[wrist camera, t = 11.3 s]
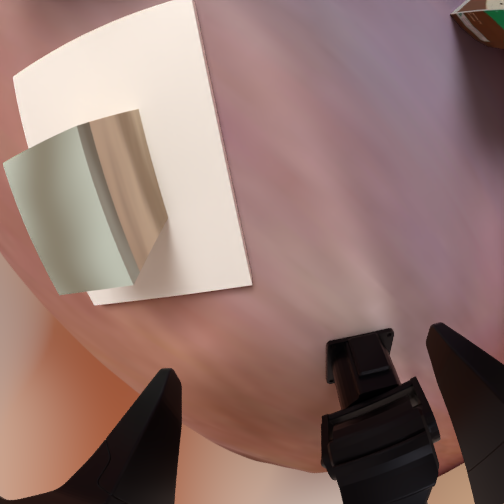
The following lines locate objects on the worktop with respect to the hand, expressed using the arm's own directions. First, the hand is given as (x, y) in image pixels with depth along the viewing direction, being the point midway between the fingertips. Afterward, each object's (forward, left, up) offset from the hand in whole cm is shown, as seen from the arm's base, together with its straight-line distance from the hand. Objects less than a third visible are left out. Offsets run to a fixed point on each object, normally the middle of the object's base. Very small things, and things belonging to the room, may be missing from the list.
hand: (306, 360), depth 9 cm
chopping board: (+5, +9, -12) cm, 16 cm away
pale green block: (+5, +9, -11) cm, 15 cm away
